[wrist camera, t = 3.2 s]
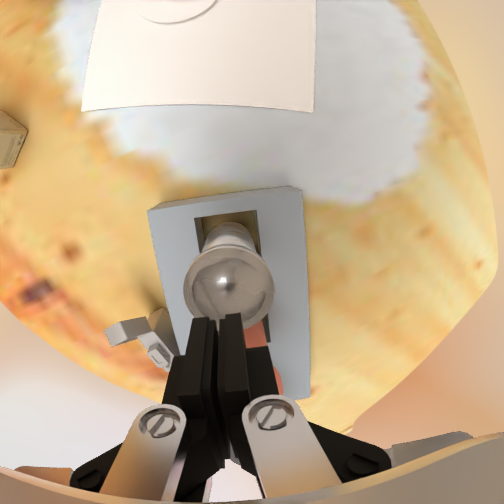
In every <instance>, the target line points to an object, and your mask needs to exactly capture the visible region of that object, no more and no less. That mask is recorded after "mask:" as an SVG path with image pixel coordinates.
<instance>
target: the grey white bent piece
mask: <svg viewBox="0 0 504 504" xmlns="http://www.w3.org/2000/svg"><path fill="white" fill-rule="evenodd" d="M104 331H105V334H106V336H107V338H108V340H109V343H110V345H111V347H113V346H117V345H120V344H123V343H126V342H129V341H132V340H136V339H138V338H139V341H140V342H141V343H142V344H143V346H144V347H145V348H146V349H147V350H148V352H147V355H148V356H149V357H150V359H151V360H152V361H153V362H154V363H155V364H156V365H157V367H158V368H163V369H164V370H165V371H166V372H169V371H170V367H171V363H172V359H173V357H174V356H178V355H181V354H180V351H179V348H178V344H177V341H176V337H175V334H174V330H173V326H172V323H171V319H170V315H169V314H168V313H167V311H166V310H165V308H160V309H158V310H156V311H154V312H153V313H151V314H150V316H149V318H148V320H147V319H146V317H140V318H135V319H130V320H125V321H120V322H118V323H116V324H114V325H112V326H110V327H109V328H107V329H105V330H104Z"/></svg>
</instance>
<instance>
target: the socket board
mask: <svg viewBox="0 0 504 504" xmlns="http://www.w3.org/2000/svg"><path fill="white" fill-rule="evenodd" d="M250 210H254V219H255V228H256V237H257V245H258V253H257V254H258V255H260V256H261V257H262V259H263V260H264V261H265V262H266V264H267V265H268V267H269V270H270V272H271V275H272V278H273V281H274V287H275V293H274V299H273V303H272V305H271V308H270V309H269V311H268V313H267V314H266V315H265V317H266V319H262V322H263V327H264V332H265V337H266V342H267V345H268V347H269V351H270V355H271V360H272V364H273V367H275V368H276V370H277V371H278V372H279V374H280V377H281V381H282V385H283V396H285V397H289V398H290V399H292V400H298V399H304V398H309V397H310V324H309V295H308V273H307V255H306V239H305V225H304V211H303V199H302V190H299V189H297V188H295V187H292V186H284V187H275V188H266V189H257V190H249V191H240V192H233V193H225V194H218V195H210V196H203V197H196V198H190V199H183V200H177V201H171V202H165V203H159V204H158V205H156V206H154V207H153V208H151V209H150V210H148V211H147V215H148V220H149V226H150V231H151V236H152V241H153V246H154V251H155V256H156V260H157V265H158V270H159V274H160V278H161V283H162V287H163V291H164V295H165V299H166V303H167V307H168V311H169V315H170V319H171V323H172V326H173V330H174V334H175V337H176V341H177V344H178V348H179V351H180V354H181V355H185V352H186V347H187V342H188V338H189V333H190V328H191V323H192V319H193V318H195V317H194V316H193V315H192V314H191V313H190V311H189V309H188V308H187V306H186V303H185V300H184V295H183V285H184V280H185V277H186V274H187V271H188V269H189V267H190V265H191V263H192V262H193V260H194V259H195V258H196V257H197V256H198V255H199V254H200V253H201V252H202V250H203V247H204V244H205V241H204V234H203V228H202V221H201V217H205V216H212V215H219V214H227V213H234V212H242V211H250ZM218 335H219V331H218Z"/></svg>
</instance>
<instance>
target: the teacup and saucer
mask: <svg viewBox="0 0 504 504" xmlns="http://www.w3.org/2000/svg"><path fill="white" fill-rule="evenodd" d="M216 1H217V0H184V1H182V0H175V1H172V2H170V1H169V0H167V1H166V0H132V6H133V8H134V10H135V11H136V13H137V14H138V15H139V16H141V17H142V18H143V19H145V20H147V21H150V22H153V23H159V24H173V23H179V22H183V21H187V20H190V19H192V18H195V17H197V16H199V15H200V14H202V13H204V12H205V11H207V10H208V9H209V8H210V7H211V6H212V5H213V4H214V3H215V2H216Z"/></svg>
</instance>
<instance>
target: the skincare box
mask: <svg viewBox="0 0 504 504" xmlns="http://www.w3.org/2000/svg"><path fill="white" fill-rule="evenodd" d="M27 131H28V130H27V129H26V128H24V127H23V126H22V125H21V124H19V123H18V122H17V121H15V120H14V119H13V118H11V117H10V116H9V115H7V114H6V113H5V112H3V111H2V110H0V169H5V168H12V167H13V166H14V163H15V160H16V158H17V156H18V153H19V151H20V148H21V146H22V143H23V141H24V139H25V136H26V134H27Z"/></svg>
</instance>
